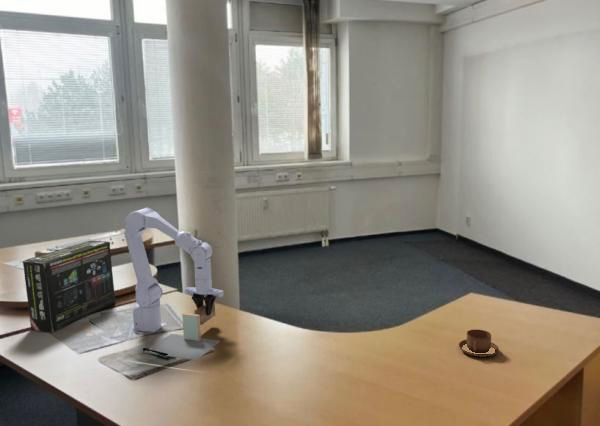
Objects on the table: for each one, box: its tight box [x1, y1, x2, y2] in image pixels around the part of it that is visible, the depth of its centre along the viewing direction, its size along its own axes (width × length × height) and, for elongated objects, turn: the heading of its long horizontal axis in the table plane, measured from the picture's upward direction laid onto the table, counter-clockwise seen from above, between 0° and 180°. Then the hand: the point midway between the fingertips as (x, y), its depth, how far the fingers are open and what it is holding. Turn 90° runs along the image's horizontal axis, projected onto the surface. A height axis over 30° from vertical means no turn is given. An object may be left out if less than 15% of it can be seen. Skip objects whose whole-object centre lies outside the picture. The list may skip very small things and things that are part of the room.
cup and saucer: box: [458, 328, 499, 358], centre depth 168 cm, size 12×12×6 cm
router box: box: [22, 240, 117, 333], centre depth 206 cm, size 36×11×27 cm, turn 160°
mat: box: [142, 333, 221, 361], centre depth 176 cm, size 20×16×1 cm
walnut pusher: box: [193, 301, 216, 326], centre depth 189 cm, size 2×10×5 cm, turn 160°
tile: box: [181, 312, 202, 341], centre depth 180 cm, size 6×1×9 cm, turn 70°
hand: (205, 314), depth 189 cm, fingers closed on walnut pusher, 2 cm apart
